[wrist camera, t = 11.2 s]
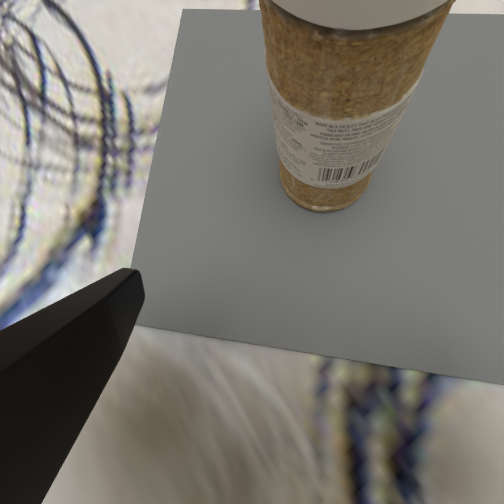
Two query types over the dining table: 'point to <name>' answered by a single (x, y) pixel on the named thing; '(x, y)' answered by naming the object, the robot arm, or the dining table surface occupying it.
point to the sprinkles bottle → (342, 87)
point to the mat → (334, 222)
